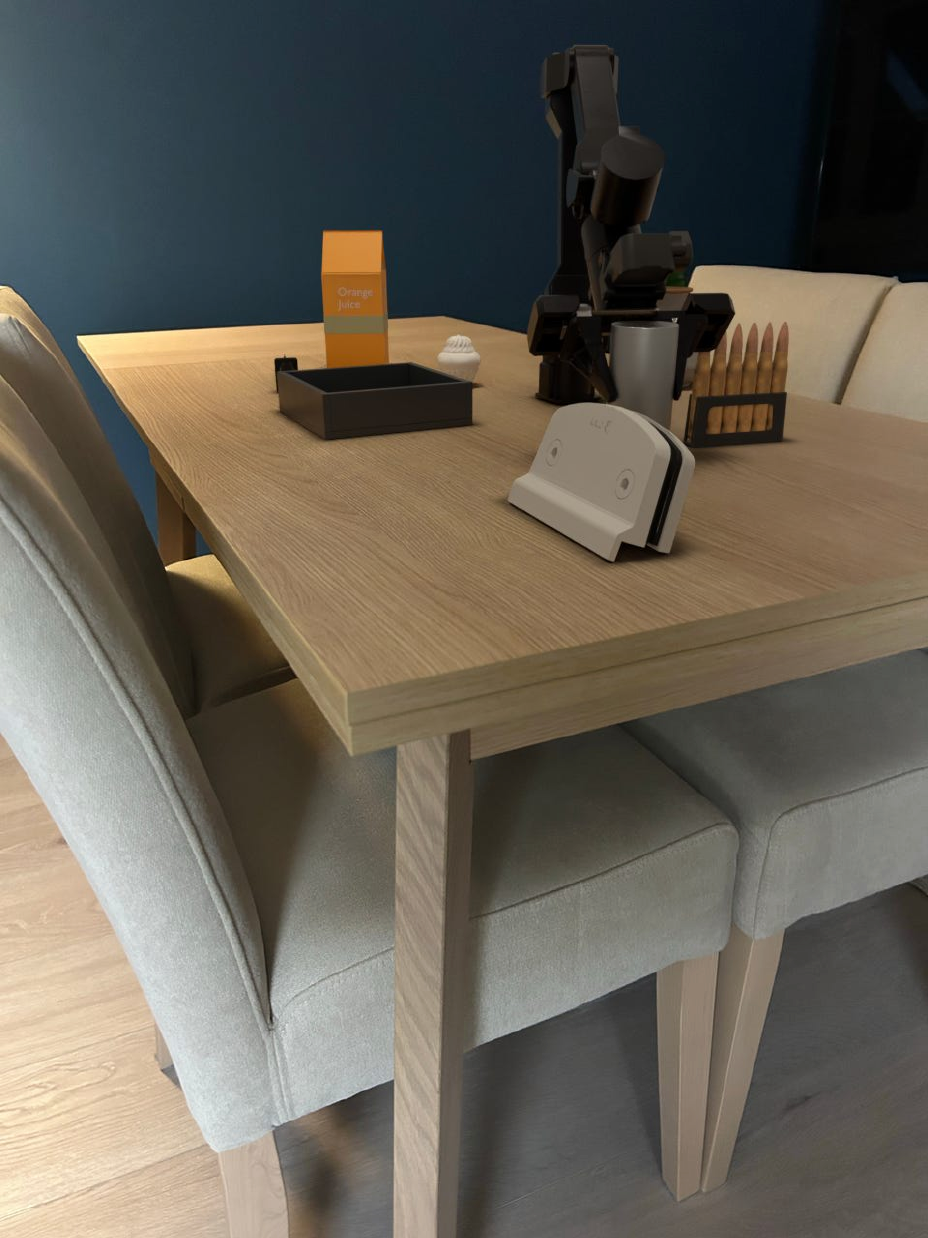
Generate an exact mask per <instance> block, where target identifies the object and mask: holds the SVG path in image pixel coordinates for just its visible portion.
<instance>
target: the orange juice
mask: <svg viewBox="0 0 928 1238" xmlns="http://www.w3.org/2000/svg"><path fill="white" fill-rule="evenodd" d="M321 256H322V257H321V271H320V279H321V292H322V293H321V295H322V309H323V310H322V311H323V312H322V313H323V332H324V333H323V334H324V344H325V360H326V362H325V363H326V368H335V367H349V366H363V365H377V364H390V353H389V352H390V351H389V315H388V294H387V269H386V268H387V267H386V258H385V248H384V238H383V230H380V229H379V230H377V229H375V230H371V229H370V230H322V253H321Z"/></svg>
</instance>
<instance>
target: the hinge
mask: <svg viewBox="0 0 928 1238" xmlns="http://www.w3.org/2000/svg"><path fill="white" fill-rule="evenodd" d="M695 468H696V459H695V456H694V454H693V453H692V452H691V451H690V450H689V449H688V447H687V446H686V444H684V443H683V442H682V440H680V439H679V438H678V437H677V436H676V435H675V434H674V433H672V432H671V430H670V431H668V430H667V429H665V428H664V427H663V426H661V425H660V424H658V423H657V422H655V421H654V420H652V419H650V418H648V417H646V416H644V415H642V414H639V413H637V412H633V411H630V410H627V409H625V408H622V407H618V406H613V405H608V404H607V403H596V402H577V403H571V404H568V405H565V406H561V407H559V408H557V409H556V410H555V411H554V413H553V415H552V416H551V418H550V421H549V422H548V426H547V427H546V431H545V432H544V435H543V437H542V440H541V443H540V444H539V447H538V449H537V451H536V455H535V456H534V459H533V461H532V464H531V466H530V468H529V471H528V472H527V473H525V474H523V475H522V476H519V477H517V478H515V479H514V481H513V482H512V486H511V489H510V492H509V495H508V498H507V502H509V503H511V504H512V505H514V506H515V507H517V508H518V509H521V510H522V511H524V512H526V513H527V514H529V515H531V516H532V517H534V518H535V519H538V520H539V521H541V522H543V523H544V524H546V525H548V526H549V527H551V528H553V529H554V530H556V531H557V532H560V533H561V534H563V535H565V536H566V537H568V538H569V539H571V540H573V541H574V542H577V543H578V544H580V545H581V546H584V547H585V548H586V549H588V550H590V551H591V552H593V553H595V554H597V556H598V555H599V556H600V557H602V559H603V558H604V559H605V560H607V561H610V562H612V563H613V562H615V560H616V557H617V554H618V552H619V549H620V547H621V544H622V542H623V543H625V544H630V545H633V546H637V547H641V548H645V546H647V547H649V548H651V549H653V550H655V551H656V552H660V553H665V554H671V553H670V552H671V550H672V546H673V542H674V539H675V536H676V532H677V529H678V526H679V522H680V519H681V516H682V512H683V509H684V505H685V501H686V498H687V495H688V492H689V488H690V484H691V482H692V478H693V474H694V472H695Z"/></svg>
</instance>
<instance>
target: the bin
mask: <svg viewBox="0 0 928 1238" xmlns="http://www.w3.org/2000/svg"><path fill="white" fill-rule="evenodd" d="M277 381H278V391H277V393H278V404H279V413H280V412H281V413H282V414H283V415H285V416H287V417H288V418H290V419H291V420H293V421H294V422H296V423H297V424H299V425H301V426H303V427H304V428H306V429H307V430H309V431H310V432H312V433H313V434H315V435H317V436H318V437H320V438H322V439H323V440H325V441H327V440H328V441H329V440H338V439H348V438H357V437H366V436H376V435H385V434H395V433H396V434H397V433H405V432H414V431H415V432H416V431H424V430H434V429H444V428H454V427H463V426H472V425H473V387H474V386H473V384H474V383H473V381H472V382H470V381H467V380H464V379H461V378H458V377H455V376H452V375H449V374H446V373H443V372H440V370H437V369H434V368H432V367H431V368H430V367H429V366H428V367H427V366H425V365H422V364H418V363H416V362H413V361H407V362H391V363H389V364H377V365H363V366H349V367H335V368H327V367H323V368H307V369H298V370H293V371H278V372H277Z"/></svg>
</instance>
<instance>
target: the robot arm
mask: <svg viewBox="0 0 928 1238" xmlns="http://www.w3.org/2000/svg"><path fill="white" fill-rule="evenodd" d="M618 77H619V56H617V55H616V54H615V49H614V48H613V47H609V45H607V44H574V45H573V46H572V47H567V48H566V50H565V51H562V52H553V53H551V55H549V56H547V57H545V58H544V59H543V62H542V64H541V66H540V76H539V96H540V98H541V99H544V117H545V120H546V121H547V124H548V125H549V127H550V129H551V131H552V132H553V134H554V136H555V137H556V139H557V208H556V209H557V211H556V213H557V214H556V215H557V216H556V217H557V219H556V221H557V222H556V225H557V227H556V268H555V269H554V272H553V274H552V275H551V277H550V279H549V281H548V283H547V284H546V286H545V288H544V291H543V294H539V295H538V296H537V297H536V299H535V300H534V301H533V304H532V307H531V313H530V317H529V321H528V324H527V325H528V326H527V330H526V340H527V341H526V342H527V347H528V353H529V354H530V355H532V356H533V357H542V361H540V362H539V367H538V368H539V369H538V372H539V373H538V375H539V376H538V392H535V393H534V397H536V398H540V399H543V400H545V401H548V402H552V403H555V404H559V405H564V404H577V403H587V402H596V401H602V398H603V399H604V401H605V402H606V404H607V403H611V402H612V400H613V398H614V390H613V382H612V378H611V374H610V370H609V361H608V359H607V355H606V351H609V344H610V337H611V324H612V323H614V322H621V321H661V322H671V323H676V324H678V325H679V333H678V344H677V356H676V368H675V379H674V391H673V401H674V402H678V401H679V400H680V398H681V396H682V393H683V388H684V387H683V382H684V375H685V369H686V363H687V358H689V357H691V356H692V355H693V353H694V352H710V353H711V352H712V351H714V350H715V349H716V348H717V347H718V345H719V343H720V341H721V339H722V338H723V336H724V334H725V332H726V333H727V330H728V328H729V327H730V325H731V323H732V321H733V319H734V317H735V316H736V310H735V306H734V302H733V299H732V297H731V296H730V294H729V293H726V292H690V293H688V296H687V298H686V300H685V302H684V304H683V307H682V309H681V310H670V311H659V309H658V307H657V300H663V298H664V296H665V293H666V287H665V286H666V283H665V282H666V280H667V279H668V277H669V276H670V275H674V274H684V272H685V271H686V270H687V269H688V268H689V267H691V265H692V264H693V259H694V249H693V242H692V239H691V236H690V234H689V231H688V230H670V231H669V232H668V233H666V232H665V233H664V232H660V233H659V232H657V233H655V232H651V233H649V232H646V233H644V232H643V233H642V229H641V224H645V223H647V222H648V220H649V218H650V215H651V212H652V210H653V206H654V201H655V198H656V195H657V193H659V187H660V186H659V184H660V180H661V177H662V173H663V170H664V166H665V162H666V154H665V150H663V149H662V148H661V146H660V145H659V144H658V143H657V142H656V141H655V140H653V139H651V138H650V137H648V136H645V135H643V134H641V133H640V126H638V125H627V126H626V125H621V121H620V114H619V108H618V101H617V93H618V79H619V78H618ZM596 391H597V393H599V395H598V394H596Z"/></svg>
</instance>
